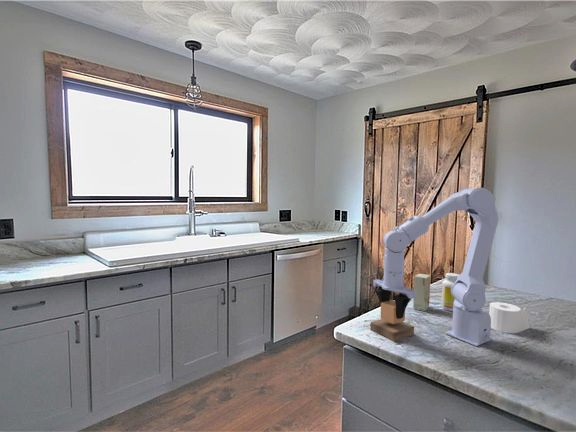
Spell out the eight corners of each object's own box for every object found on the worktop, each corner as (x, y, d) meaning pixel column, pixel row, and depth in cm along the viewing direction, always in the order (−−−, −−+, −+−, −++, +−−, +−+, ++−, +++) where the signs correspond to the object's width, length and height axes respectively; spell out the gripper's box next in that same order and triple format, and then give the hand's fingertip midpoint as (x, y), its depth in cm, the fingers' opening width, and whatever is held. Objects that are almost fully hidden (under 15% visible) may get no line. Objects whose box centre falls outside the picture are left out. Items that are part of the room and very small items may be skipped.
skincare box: (425, 311, 116) (426, 278, 116) (412, 309, 119) (413, 276, 118) (429, 306, 122) (431, 274, 121) (417, 304, 124) (418, 272, 123)
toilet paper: (529, 328, 103) (531, 306, 103) (510, 335, 98) (512, 313, 97) (502, 319, 110) (503, 299, 110) (483, 325, 105) (484, 304, 104)
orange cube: (404, 320, 98) (405, 304, 98) (393, 324, 96) (393, 307, 95) (391, 315, 102) (392, 299, 102) (380, 318, 100) (380, 302, 100)
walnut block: (413, 335, 98) (414, 326, 98) (393, 343, 93) (393, 332, 93) (390, 325, 106) (390, 316, 105) (370, 331, 101) (370, 322, 101)
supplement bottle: (464, 312, 116) (466, 276, 115) (446, 311, 117) (447, 276, 116) (455, 305, 123) (457, 272, 122) (438, 305, 123) (439, 272, 122)
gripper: (366, 267, 102) (365, 309, 103) (404, 278, 90) (402, 326, 91) (382, 265, 106) (381, 305, 107) (421, 275, 93) (419, 321, 94)
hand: (392, 314), depth 99 cm, fingers closed on orange cube, 5 cm apart
